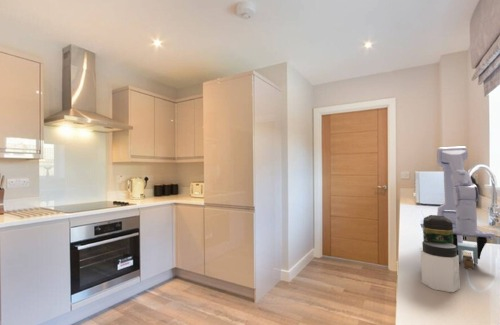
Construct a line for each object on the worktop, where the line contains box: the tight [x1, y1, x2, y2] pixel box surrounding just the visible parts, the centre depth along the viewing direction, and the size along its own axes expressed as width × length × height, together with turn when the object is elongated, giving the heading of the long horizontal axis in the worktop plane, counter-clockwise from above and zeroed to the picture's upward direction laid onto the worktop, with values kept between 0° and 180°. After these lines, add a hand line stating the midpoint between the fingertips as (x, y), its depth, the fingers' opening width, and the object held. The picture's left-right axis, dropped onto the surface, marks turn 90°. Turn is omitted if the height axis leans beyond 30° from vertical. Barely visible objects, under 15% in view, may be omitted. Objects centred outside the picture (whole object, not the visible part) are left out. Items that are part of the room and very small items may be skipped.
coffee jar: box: [422, 214, 453, 244], centre depth 84 cm, size 10×8×19 cm
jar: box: [420, 240, 461, 294], centre depth 75 cm, size 9×8×12 cm
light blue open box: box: [458, 242, 479, 265], centre depth 93 cm, size 5×5×6 cm
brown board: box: [462, 251, 475, 270], centre depth 92 cm, size 12×2×3 cm, turn 143°
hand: (467, 256), depth 93 cm, fingers closed on light blue open box, 5 cm apart
